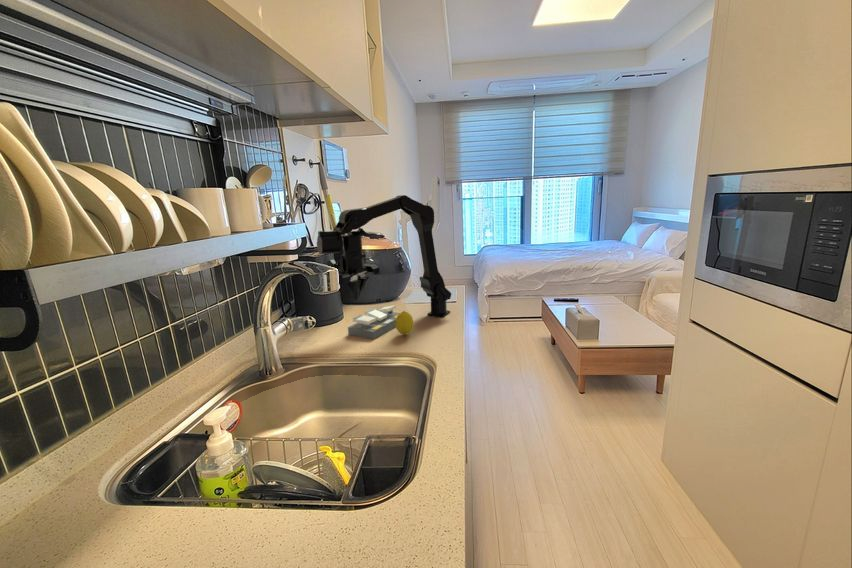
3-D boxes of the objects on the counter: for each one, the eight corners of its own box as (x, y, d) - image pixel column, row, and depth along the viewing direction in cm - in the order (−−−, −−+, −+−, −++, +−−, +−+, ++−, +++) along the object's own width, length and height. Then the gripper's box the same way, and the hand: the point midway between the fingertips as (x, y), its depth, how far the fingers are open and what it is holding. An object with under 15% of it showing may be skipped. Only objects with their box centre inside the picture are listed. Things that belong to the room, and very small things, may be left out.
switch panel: (383, 317, 132) (382, 307, 131) (406, 320, 128) (405, 310, 127) (348, 334, 116) (347, 323, 115) (373, 339, 111) (372, 328, 111)
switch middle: (371, 310, 124) (372, 307, 124) (386, 317, 122) (387, 314, 121) (364, 314, 121) (364, 310, 121) (379, 320, 118) (380, 317, 118)
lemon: (393, 337, 112) (392, 313, 111) (400, 331, 118) (399, 307, 116) (410, 339, 111) (409, 314, 109) (416, 333, 116) (415, 309, 114)
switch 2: (382, 310, 130) (381, 306, 130) (396, 308, 127) (395, 304, 126) (375, 313, 126) (374, 310, 126) (389, 311, 123) (389, 308, 123)
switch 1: (360, 317, 120) (360, 314, 119) (376, 320, 117) (376, 317, 116) (352, 321, 116) (352, 318, 116) (368, 324, 113) (368, 321, 113)
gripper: (352, 246, 124) (355, 290, 128) (311, 254, 108) (316, 304, 112) (379, 247, 119) (381, 293, 122) (339, 256, 103) (344, 309, 106)
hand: (356, 299), depth 116 cm, fingers closed
